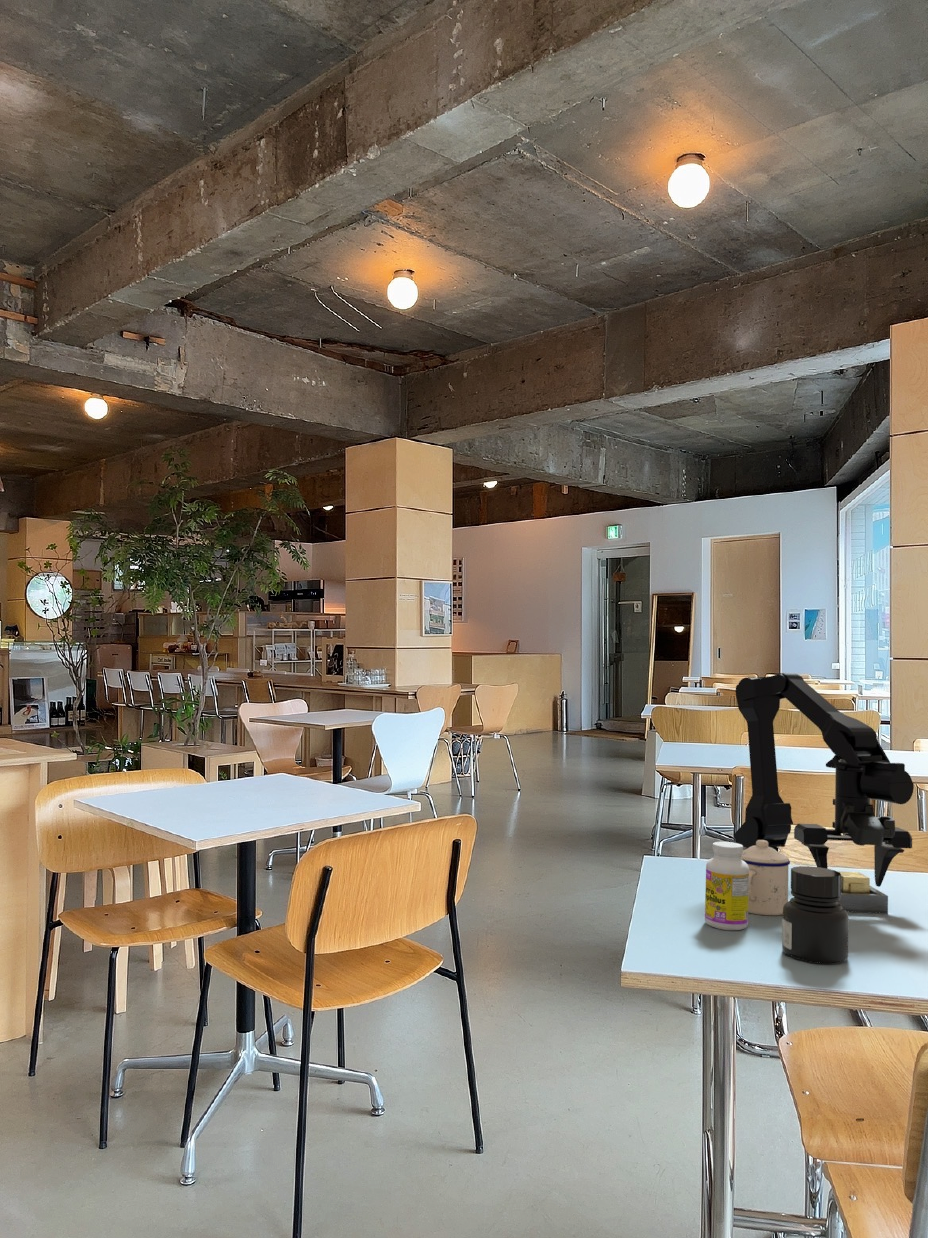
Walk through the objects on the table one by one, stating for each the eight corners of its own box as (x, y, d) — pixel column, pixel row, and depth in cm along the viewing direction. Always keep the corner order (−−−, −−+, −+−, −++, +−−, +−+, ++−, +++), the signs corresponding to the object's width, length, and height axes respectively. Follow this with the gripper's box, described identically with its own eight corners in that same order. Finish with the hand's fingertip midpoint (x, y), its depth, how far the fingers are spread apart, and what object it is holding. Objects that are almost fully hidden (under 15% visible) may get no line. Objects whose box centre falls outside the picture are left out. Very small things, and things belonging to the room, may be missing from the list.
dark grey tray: (834, 911, 156) (835, 894, 156) (804, 890, 171) (804, 874, 171) (887, 913, 156) (888, 896, 156) (852, 892, 171) (852, 876, 171)
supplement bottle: (696, 921, 147) (697, 841, 148) (730, 918, 149) (731, 839, 150) (722, 933, 141) (723, 849, 141) (757, 930, 143) (758, 847, 144)
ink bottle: (799, 942, 137) (800, 861, 138) (858, 956, 131) (859, 872, 132) (770, 955, 130) (771, 870, 131) (831, 971, 124) (832, 882, 125)
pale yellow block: (844, 907, 157) (844, 877, 158) (832, 898, 163) (832, 870, 163) (870, 908, 157) (870, 878, 158) (857, 900, 163) (857, 871, 163)
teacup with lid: (745, 899, 162) (746, 833, 163) (796, 909, 157) (797, 841, 157) (718, 912, 153) (719, 842, 154) (772, 923, 147) (773, 850, 148)
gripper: (815, 800, 153) (814, 894, 152) (927, 804, 153) (927, 899, 152) (793, 791, 164) (792, 879, 164) (898, 795, 164) (897, 883, 163)
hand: (851, 885), depth 160 cm, fingers open, 9 cm apart
